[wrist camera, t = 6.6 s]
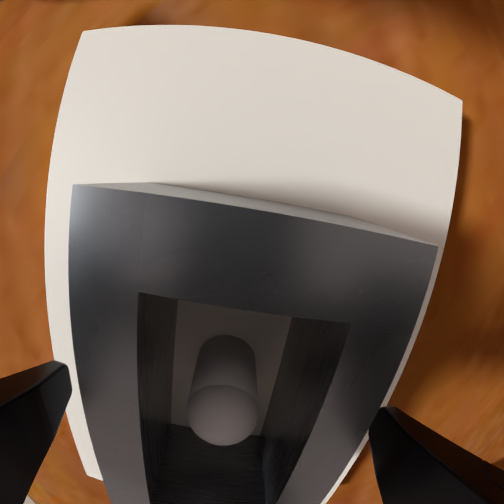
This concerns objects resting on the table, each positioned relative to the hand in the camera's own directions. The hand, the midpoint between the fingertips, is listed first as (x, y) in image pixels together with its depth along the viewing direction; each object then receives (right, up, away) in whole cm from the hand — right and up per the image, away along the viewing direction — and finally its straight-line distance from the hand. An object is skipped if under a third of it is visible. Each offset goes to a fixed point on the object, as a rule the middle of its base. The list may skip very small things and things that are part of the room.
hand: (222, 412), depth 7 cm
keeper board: (0, +1, +4) cm, 4 cm away
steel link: (0, +1, +2) cm, 3 cm away
